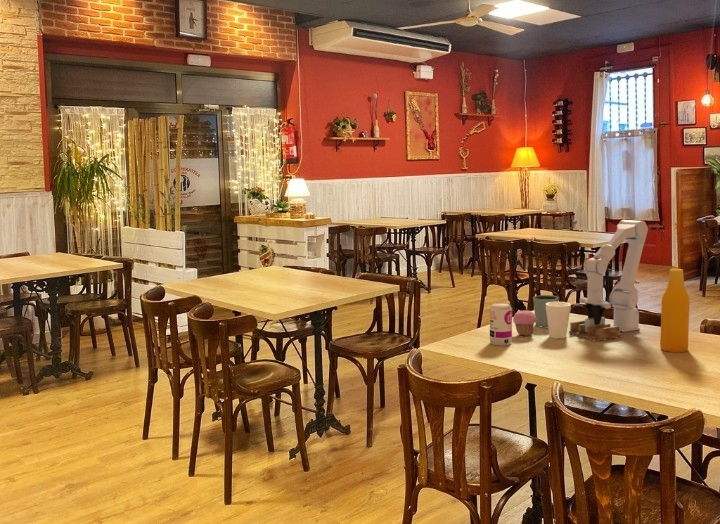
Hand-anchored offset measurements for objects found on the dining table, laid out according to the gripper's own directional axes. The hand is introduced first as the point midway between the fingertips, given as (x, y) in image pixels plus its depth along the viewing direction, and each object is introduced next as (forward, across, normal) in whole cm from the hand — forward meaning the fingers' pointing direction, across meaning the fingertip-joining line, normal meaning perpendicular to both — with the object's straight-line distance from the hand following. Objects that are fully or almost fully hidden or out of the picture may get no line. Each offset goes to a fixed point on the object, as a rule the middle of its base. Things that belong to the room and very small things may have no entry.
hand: (594, 323), depth 281 cm
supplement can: (+5, -9, -38) cm, 39 cm away
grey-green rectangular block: (+3, 0, 0) cm, 3 cm away
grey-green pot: (+5, -24, -4) cm, 25 cm away
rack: (+5, 0, 0) cm, 5 cm away
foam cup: (+5, -6, -13) cm, 15 cm away
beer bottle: (+5, +30, +9) cm, 32 cm away
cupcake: (+5, -15, -22) cm, 27 cm away
